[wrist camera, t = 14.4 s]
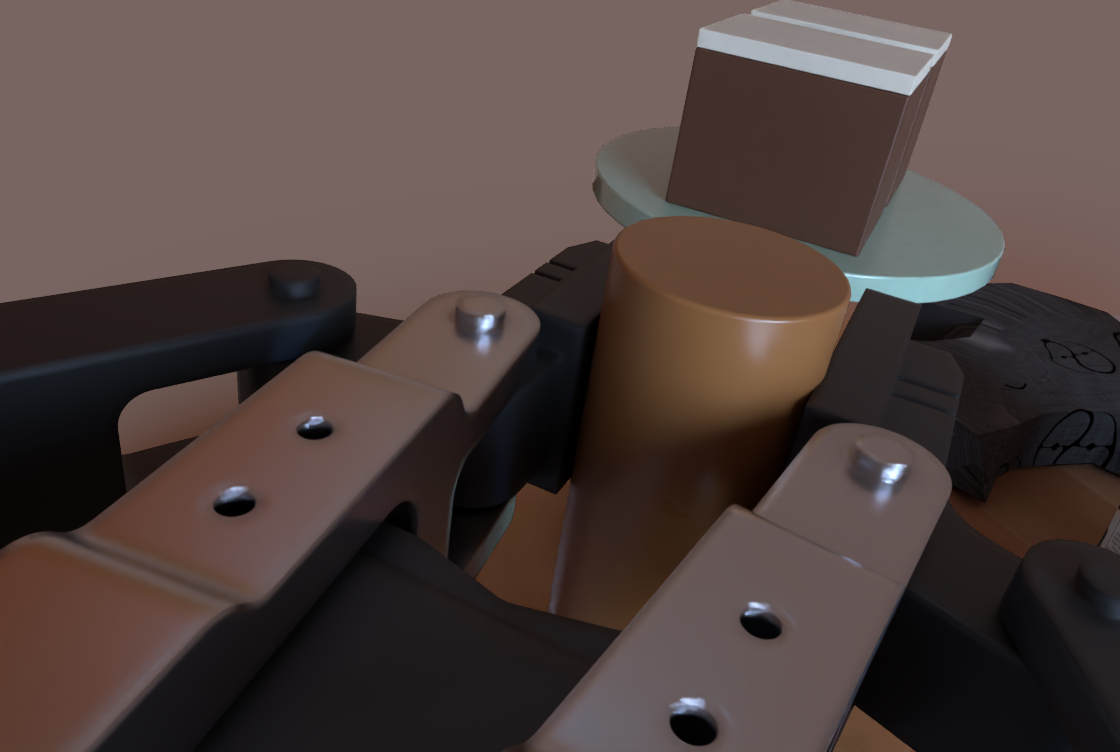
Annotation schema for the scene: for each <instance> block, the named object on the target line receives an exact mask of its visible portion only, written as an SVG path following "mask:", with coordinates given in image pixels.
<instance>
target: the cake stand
mask: <svg viewBox="0 0 1120 752" xmlns="http://www.w3.org/2000/svg"><path fill="white" fill-rule="evenodd" d="M679 130H680V127H664V128H653V129H647V130H641V131H636V132H632V133H628V134H625V135H622V136H619V137H617V138H614V139H612V140H611V141H609V142H608V143H606V144H605V145H604V146H603V147H602V148H601V149H600V150H599V152H598V153H597V156H596V159H595V164H594V170H593V176H592V186H593V191H594V194H595V196H596V198H597V201H598V202H599V203H600V205H601V206H602V207H603V208H604V210H605V211H606V212H607V213H608V214H609V215H610V216H611V217H613V218H614V219H615V220H616V221H617V222H618V223H620V224H621V225H622V226H624V227H625V228H626V227H627V226H629V225H631V224H633V223H636V222H638V221H640V220H646V219H651V218H657V217H666V216H699V217H710V218H718V219H725V218H721V217H718V216H714V215H711V214H707V213H704V212H701V211H697V210H694V209H690V208H687V207H683V206H680V205H677V204H673V203H670V202H667V201H666V194H667V189H668V185H669V180H670V175H671V170H672V165H673V160H674V155H675V150H676V145H677V140H678V135H679ZM725 220H728V219H725ZM730 221H731V220H730ZM789 238H790V237H789ZM792 239H793V238H792ZM794 240H796V241H798V242H801V243H803V244H805V245H807V246H809V247H811V248H812V249H814V250H816V251H818V252H819V253H821V254H823V255H824V256H825V257H827V258H828V259H830V260H831V261H832V262H833V263H834V264H836V265H837V266H838V267H839V268H840V269H841V270H842V271H843V273H844V274H845V275H846V277H847V279H848V280H849V283H850V286H851V300H850V301H852V302H859V301H860V299H861V297H862V295H863V293H864V291H865V289H866V288H869V289H872V290H875V291H879V292H882V293H885V294H888V295H892V296H895V297H898V298H902V299H905V300H908V301H911V302H915V303H929V302H939V301H944V300H949V299H955V298H958V297H962V296H965V295H968V294H971V293H973V292H975V291H977V290H978V289H980V288H982V287H984V286H985V285H986V284H987V283H988V282H989V281H990V280H991V279H992V278H993V276H994V274H995V271H996V269H997V267H998V264H999V262H1000V259H1001V257H1002V255H1003V252H1004V250H1005V243H1004V242H1005V241H1004V237H1003V234H1002V232H1001V230H1000V228H999V227H998V225H997V224H996V223H995V222H994V220H993V219H992V218H991V217H989V216H988V215H987V214H986V213H985V212H984V211H983V210H982V209H980V208H979V207H978V206H976V205H975V204H973V203H972V202H971V201H969V200H968V199H966V198H964V197H963V196H961V195H959V194H958V193H956V192H954V191H953V190H951V189H949V188H947V187H945V186H943V185H941V184H939V183H937V182H935V181H933V180H931V179H928V178H926V177H924V176H922V175H919V174H917V173H915V172H912V171H910V170H906V173H905V176H904V178H903V180H902V181H901V183H900V185H899V187H898V188H897V190H896V192H895V193H894V195H893V197H892V199H891V200H890V202H889V204H888V206H887V207H885V208H884V210H883V213H882V216H881V217H880V219H879V221H878V223H877V224H876V226H875V228H874V229H873V231H872V233H871V235H870V236H869V238H868V240H867V242H866V243H865V245H864V247H863V248H862V250H861V252H860V254H859V255H858V256H857V257H855V256H851V255H848V254H845V253H841V252H838V251H834V250H831V249H827V248H824V247H821V246H817V245H814V244H810V243H807V242H803V241H800V240H797V239H794Z"/></svg>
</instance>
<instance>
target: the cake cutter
mask: <svg viewBox="0 0 1120 752" xmlns="http://www.w3.org/2000/svg"><path fill="white" fill-rule="evenodd" d="M850 300H851V286H850V283H849V280H848V279H847V277H846V275H845V274H844V273H843V271H842V270H841V269H840V268H839V267H838V266H837V265H836V264H834V263H833V262H832V261H831V260H830V259H828V258H827V257H825V256H824V255H823V254H821V253H819V252H818V251H816V250H814V249H812V248H811V247H809V246H807V245H805V244H803V243H801V242H798V241H796V240H794V239H792V238H789V237H787V236H784V235H782V234H779V233H776V232H773V231H770V230H767V229H764V228H761V227H757V226H753V225H749V224H745V223H741V222H736V221H730V220H725V219H718V218H710V217H699V216H666V217H657V218H651V219H646V220H642V221H639V222H636V223H633V224H631V225H629V226H627V227H626V228H624V229H623V230H622V231H621V232H620V233H619V234H618V235H617V237H616V238H615V240H614V242H613V246H612V251H611V257H610V263H609V268H608V274H607V279H606V285H605V291H604V296H603V302H602V307H601V313H600V319H599V324H598V330H597V335H596V341H595V347H594V352H593V358H592V363H591V369H590V375H589V380H588V386H587V391H586V397H585V403H584V408H583V414H582V419H581V425H580V431H579V436H578V442H577V447H576V453H575V459H574V464H573V470H572V475H571V481H570V487H569V492H568V498H567V503H566V509H565V515H564V520H563V526H562V531H561V537H560V543H559V548H558V554H557V559H556V565H555V570H554V576H553V582H552V587H551V593H550V598H549V604H548V610H547V613H551V614H555V615H559V616H563V617H567V618H571V619H576V620H580V621H584V622H588V623H592V624H596V625H600V626H604V627H608V628H612V629H616V630H620V631H623V630H624V629H625V627H626V626H627V625H628V624H629V623H630V622H631V620H632V619H633V618H634V617H635V616H636V615H637V613H638V612H639V611H640V610H641V609H642V607H643V606H644V605H645V604H646V603H647V602H648V600H649V599H650V598H651V597H652V596H653V595H654V593H655V592H656V591H657V590H658V589H659V587H660V586H661V585H662V584H663V583H664V582H665V580H666V579H667V578H668V577H669V576H670V575H671V573H672V572H673V571H674V570H675V569H676V567H677V566H678V565H679V564H680V563H681V562H682V560H683V559H684V558H685V557H686V556H687V555H688V553H689V552H690V551H691V550H692V549H693V547H694V546H695V545H696V544H697V543H698V542H699V540H700V539H701V538H702V537H703V536H704V535H705V533H706V532H707V531H708V530H709V529H710V527H711V526H712V525H713V524H714V523H715V522H716V520H717V519H718V518H719V517H720V516H721V515H722V513H723V512H724V511H725V510H726V509H727V508H728V507H730V506H731V505H733V504H738V505H740V506H742V507H744V508H746V509H748V510H750V511H753V510H754V509H755V507H756V506H757V505H758V504H759V502H760V501H761V500H762V499H763V497H764V496H765V495H766V494H767V492H768V491H769V490H770V489H771V487H772V486H773V485H774V484H775V482H776V481H777V480H778V479H779V477H780V476H781V475H782V474H783V472H784V471H785V469H786V466H787V463H788V459H789V456H790V453H791V450H792V447H793V444H794V441H795V438H796V435H797V432H798V429H799V426H800V423H801V420H802V417H803V414H804V411H805V408H806V405H807V403H808V401H809V399H810V397H811V395H812V393H813V391H814V389H815V387H816V386H817V385H818V384H820V383H821V381H822V380H823V378H824V377H825V375H826V372H827V369H828V366H829V363H830V360H831V357H832V354H833V351H834V347H835V344H836V342H837V338H838V336H839V332H840V329H841V326H842V323H843V321H844V317H845V315H846V312H847V308H848V305H849V303H850Z"/></svg>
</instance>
